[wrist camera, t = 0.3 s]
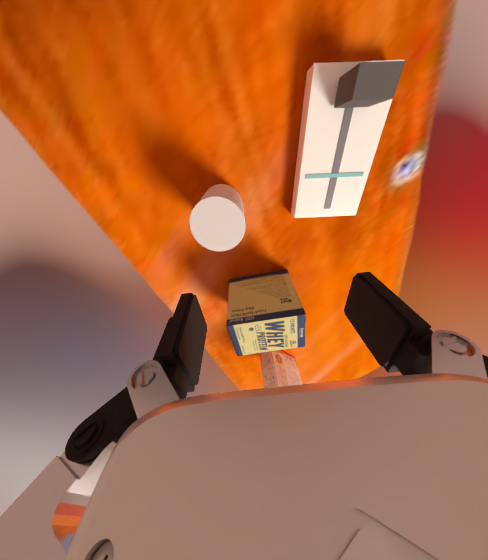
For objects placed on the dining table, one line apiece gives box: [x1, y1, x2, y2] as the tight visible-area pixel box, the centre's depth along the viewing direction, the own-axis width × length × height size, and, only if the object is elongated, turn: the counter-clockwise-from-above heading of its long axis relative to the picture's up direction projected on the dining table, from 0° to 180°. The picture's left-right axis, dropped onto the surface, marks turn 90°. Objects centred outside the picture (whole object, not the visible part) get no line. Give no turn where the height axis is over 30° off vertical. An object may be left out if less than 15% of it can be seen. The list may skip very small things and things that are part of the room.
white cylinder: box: [190, 184, 245, 251], centre depth 31 cm, size 8×8×12 cm
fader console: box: [291, 60, 405, 218], centre depth 31 cm, size 20×12×3 cm, turn 2°
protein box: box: [226, 270, 306, 356], centre depth 43 cm, size 10×16×16 cm
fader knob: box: [334, 61, 405, 108], centre depth 23 cm, size 3×5×5 cm, turn 92°
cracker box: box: [260, 350, 302, 388], centre depth 59 cm, size 14×6×21 cm, turn 47°
